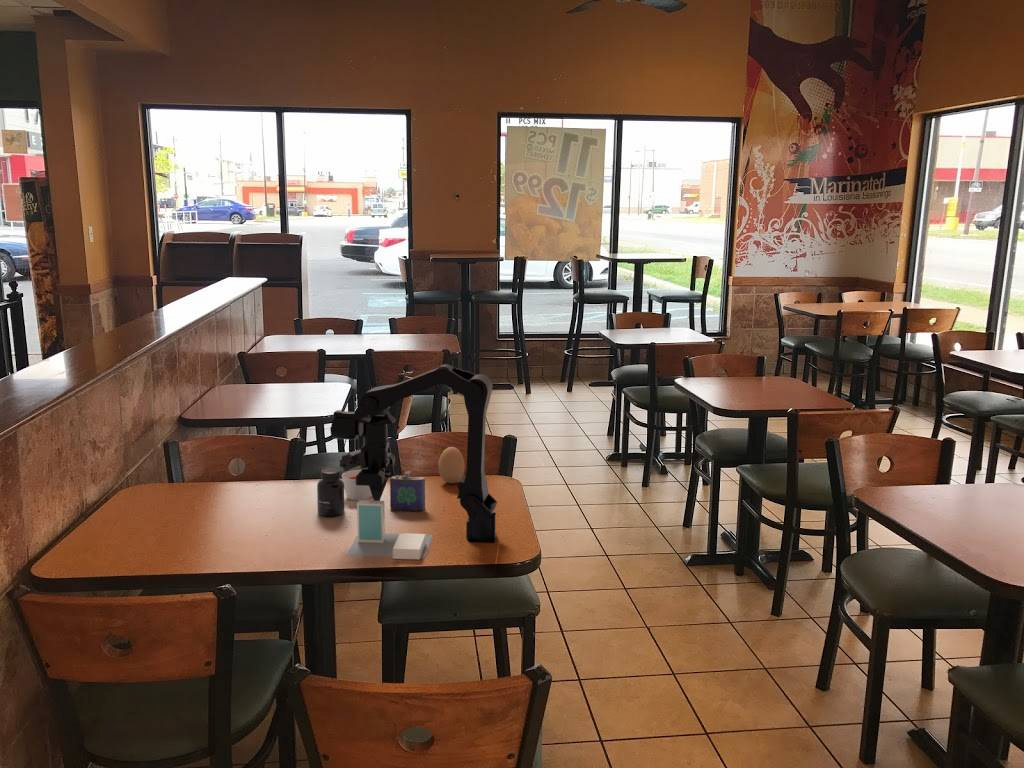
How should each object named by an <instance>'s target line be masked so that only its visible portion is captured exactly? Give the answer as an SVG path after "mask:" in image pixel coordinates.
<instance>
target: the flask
mask: <svg viewBox="0 0 1024 768" xmlns="http://www.w3.org/2000/svg"><path fill="white" fill-rule="evenodd" d="M389 481H390V483H389V485H390V487H389V489H390V490H389V493H390V500H389V502H390V504H389V506H390V511H391V512H398V513H420V512H421V513H422V512H423V513H424V512H425V511H426V478H425V477H424V476H417V477H416V476H413V477H412V476H411V470H408V471H405V472H404V474H403V475H401V474H400V475H399V474H397V475H396V476H391V477H390V479H389Z"/></svg>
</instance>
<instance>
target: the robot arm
mask: <svg viewBox="0 0 1024 768" xmlns="http://www.w3.org/2000/svg"><path fill="white" fill-rule="evenodd" d="M440 385H444V386H447V387H448V388H450V389H451V390H453V391H454V392H456V394H457V393H458V394H459V395H462V396H463V399H464V406H465V409H466V412H467V416H468V417H467V445H466V446H467V448H466V474H463V476H462V477H461V479H460V480H459V481H458V482H457V488H458V494H457V498H456V499H457V500H459V504H460V506H461V508H463V509H464V510H465V511H466V513H467V516H468V518H466V522H465V523H466V524H465V525H466V526H465V527H466V529H465V530H466V532H465V533H466V534H465V535H466V539H467V542H468V543H481V544H482V543H484V544H487V543H488V544H495V543H496V540H497V531H496V530H497V523H496V522H497V513H496V512H494V511H495V510H496V507H497V505H498V501H497V500H496V498H494V497H493V496H492V495H491V494H490V493H489V486H488V480H487V477H486V473H485V450H486V449H485V447H486V446H485V445H486V422H487V420H486V418H487V411H488V407H489V403H490V401H491V396H492V391H493V382H492V380H491V379H490V378H489V376H488V375H485V374H480V373H479V374H475V373H472V372H470V371H467V370H463V369H460V368H457V367H454V366H452V365H451V364H448V363H445V364H442V365H440V366H439V367H437V368H434V369H431V370H429V371H427V372H423V373H422V374H419V375H416V376H414V377H411V378H409V379H406V380H403V381H401V382H398V383H394V384H386V385H381V386H374V387H372V388H371V389H369V390H368V391H366V392H365V393H363V394H362V395H361V396H360V400H359V406H358V407H357V408H356V410H355V411H344V410H340V409H339V410H338V409H337V410H335V411H334V412H333V418H332V420H331V424H330V428H329V429H330V436H331V438H332V439H333V440H334V439H335V440H350V441H352V440H353V441H356V440H358V438H359V437H362V435H363V438H362V439H363V445H362V446H361V447H360V449H357V450H354V451H349V452H347V453H345V454H342V455H341V457H340V458H339V467H340V468H342V470H343V472H348V471H350V470H351V469H354V468H357V467H359V468H360V470H361V471H360V472H359V473H358V474H357V476H356V485H362V486H369V488H370V491H371V494H372V496H371V497H372V501H381V499H382V496H383V494H384V490H385V488H386V485H387V483H388V481H389V478H390V475H391V473H392V472H391V471H390V470H385V469H387V467H388V466H389V465H390V467H392V468H393V467H395V465H396V456H395V455H394V454H393V453H392V452H389V448H390V442H389V441H388V438H389V437H388V425H393V424H394V423H395V422H396V421H397V419H396V418H395V417H394V416H393V415H392V414H391V413H390V411H388V412H386V414H384V415H382V414H381V415H379V414H380V413H382V412H383V411H385V410H388V408H390V407H391V406H393V405H394V404H396V403H398V402H399V401H401V400H404V399H405V398H409V397H411V396H415V395H417V394H419V393H422V392H424V391H427V390H429V389H432V388H435V387H437V386H440ZM367 416H371V417H367Z"/></svg>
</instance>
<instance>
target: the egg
mask: <svg viewBox="0 0 1024 768" xmlns="http://www.w3.org/2000/svg"><path fill="white" fill-rule="evenodd" d="M465 465H466V463H465V460H464V456H463V454H462V453H461V451H460V450H459V449H458V448H456V447H454V446H449V447H447V448H445V449H444V450H443V452H441V455H440V457H439V459H438V467H437V468H438V473H439V476H440V477H441V479H442V480H443V481H444V482H445V483H447V484H450V485H451V484H452V485H453V484H456V483H458V482H459V480H460V479H461V477H462V476H463V475H465V474H464V473H465V469H466V466H465Z"/></svg>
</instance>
